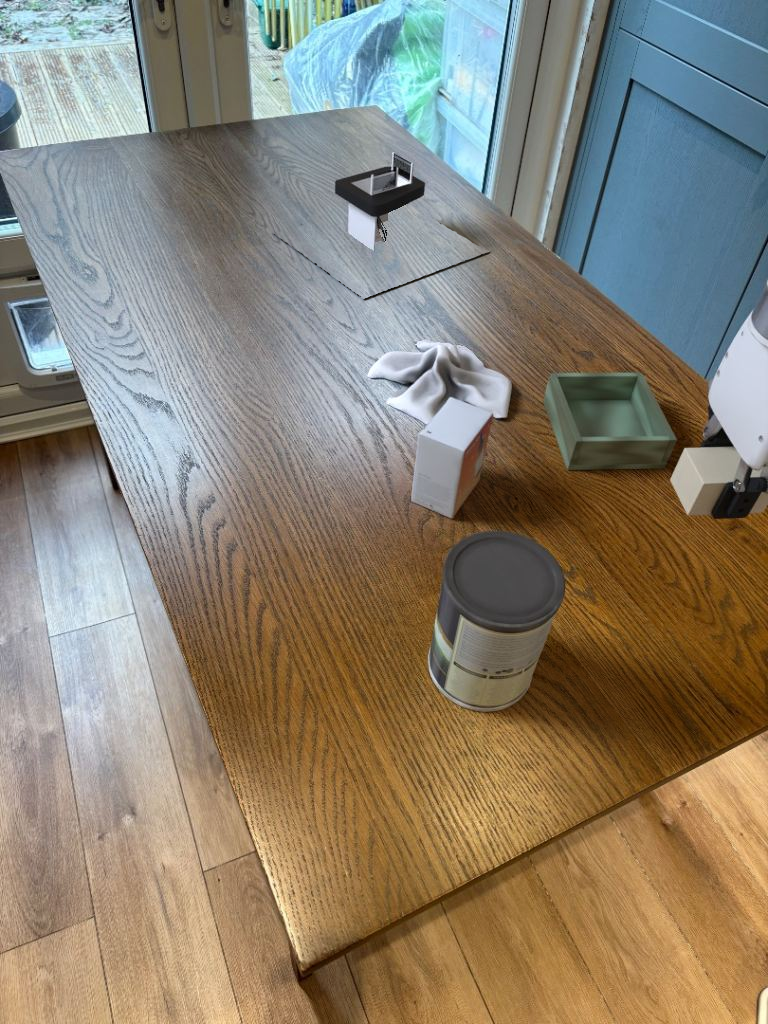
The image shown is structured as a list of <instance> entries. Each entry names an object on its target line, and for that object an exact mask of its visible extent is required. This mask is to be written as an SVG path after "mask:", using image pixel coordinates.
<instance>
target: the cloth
mask: <svg viewBox="0 0 768 1024" xmlns="http://www.w3.org/2000/svg"><path fill="white" fill-rule="evenodd" d="M415 345H417V347H416V348H417V349H419V350H421V352H419V351H416V352H415V351H414V352H412V351H400V350H396V351H395V350H394V351H388V352H386V353H384V354H383V355H382V356H381V357H380V358H379V359H378V360H376V362H375V363H373V365H371V367H370V369H369V370H368V373H367V378H370V379H377V378H384V379H387V380H389V381H394V382H397V383H400V384H403V385H405V384H410V383H412V384H411V385H410V386H407V387H403V388H400V389H398V390H397V391H395V392H392V393H391V394H390V395H389V397H387V399H386V402H385V404H386V405H388V406H391V407H392V408H395V409H397V410H399V411H401V412H402V413H405V414H407V415H409V416H410V417H413V418H415V419H417V420H418V421H420V422H421V423H423V424H425V426H426V425H427V424H428V423H429V422H430V421H431V420H432V419H433V417H434V416H435V415H436V414H437V413H438V411H439V410H440V409H441V408H442V407H443V405H444V404H445V403H446V402H447V400H448V399H449V398H450V397H452V398H455V399H457V400H460V401H463V402H465V403H468V404H470V405H473V406H476V407H478V408H481V409H483V410H486V411H488V412H491V413H493V418H495V419H503V418H504V419H505V418H508V413H509V407H510V401H511V396H512V395H511V394H512V390H513V385H512V383H513V382H512V381H511V379H510V378H508V377H506V376H505V375H504V374H502V373H500V372H498V371H497V370H494V369H491V368H488V367H485V365H484V363H483V362H482V361H481V360H480V359H479V358H478V356H476V354H475V353H474V352H473V351H472V350H470V349H469V348H468V347H466V346H464V345H463V346H461V345H462V344H461V345H457V347H456V346H455V345H452V344H450V343H440V342H436V343H435V342H433V341H430V340H426V339H425V340H422V341H418V342H417V344H415ZM459 347H460V348H459Z"/></svg>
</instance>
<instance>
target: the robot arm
mask: <svg viewBox="0 0 768 1024" xmlns="http://www.w3.org/2000/svg"><path fill="white" fill-rule="evenodd" d="M761 290H762V291H761V293H760V294H759V297H758V299H757V301H756V303H755V305H754V308H753V309H752V310H751V312H750V313H749V314H748V316H747V317H746V319H745V320H744V322H743V323H742V325H741V326H740V328H739V330H737V331H738V332H737V333H736V335H735V336H734V338H733V340H732V342H731V343H730V345H729V346H728V348H727V350H726V352H725V354H724V356H723V358H722V360H721V362H720V364H719V366H718V368H717V370H716V373H715V374H714V376H712V377H711V378H710V379H709V380H708V381H707V383H708V385H707V386H708V387H707V388H708V397H707V398H708V402H709V404H708V406H707V411H708V412H707V413H708V415H707V417H708V419H707V420H708V422H707V423H706V424H705V425H704V426H703V429H702V437H703V438H704V439H705V440H703V439H702V442H701V444H700V446H699V448H704V447H735V448H736V450H737V452H738V453H739V455H740V456H741V459H740V463H739V466H738V469H737V472H736V475H735V478H734V481H733V482H728V483H726V485H725V487H724V489H723V491H722V493H721V495H720V497H719V498H718V500H717V502H716V504H715V506H714V508H713V510H712V511H711V515H710V516H711V517H712V518H713V520H727V519H728V520H731V519H745V518H747V517H749V514H751V513H750V511H751V510H752V508H753V506H754V504H755V503H756V501H757V499H758V498H759V496H760V494H761V493H762V492H764V493H766V494H768V279H767V280H766V282H765V284H764V286H763V288H762V289H761ZM762 467H763V469H762V472H761V475H760V477H750V476H751V473H752V470H753V469H754V470H756V471H759V470H760V469H761V468H762Z"/></svg>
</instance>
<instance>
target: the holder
mask: <svg viewBox="0 0 768 1024" xmlns="http://www.w3.org/2000/svg"><path fill="white" fill-rule="evenodd" d="M542 404H543V406H544V409H545V412H546V415H547V417H548V419H549V420H548V421H549V423H550V426H551V429H552V431H553V434H554V437H555V440H556V442H557V445H558V448H559V451H560V454H561V457H562V459H563V462H564V465H565V468H566V470H567V471H588V470H589V471H590V470H591V471H593V470H594V471H595V470H597V471H598V470H649V469H650V470H652V469H665V467H666V465H667V463H668V461H669V459H670V457H671V454H672V452H673V451H674V448H675V446H676V444H677V441H678V439H677V437H676V435H675V433H674V431H673V430H672V427H671V425H670V424H669V422H668V420H667V418H666V416H665V414H664V412H663V410H662V408H661V406H660V404H659V403H658V400H657V399H656V397H655V395H654V393H653V391H652V389H651V387H650V385H649V383H648V382H647V379H646V378H645V376H644V374H643V372H550V373H549V377H548V379H547V384H546V388H545V392H544V395H543V400H542Z"/></svg>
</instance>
